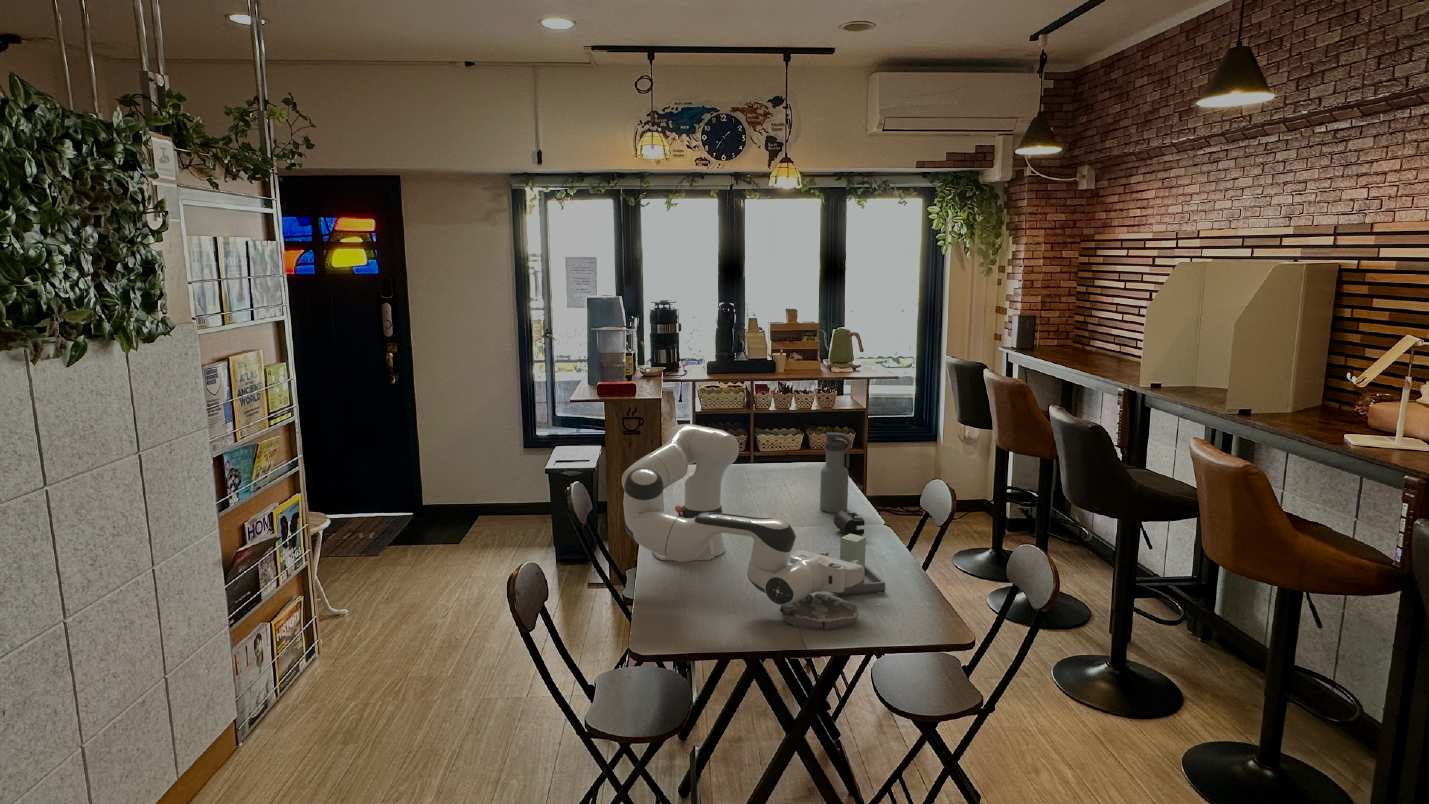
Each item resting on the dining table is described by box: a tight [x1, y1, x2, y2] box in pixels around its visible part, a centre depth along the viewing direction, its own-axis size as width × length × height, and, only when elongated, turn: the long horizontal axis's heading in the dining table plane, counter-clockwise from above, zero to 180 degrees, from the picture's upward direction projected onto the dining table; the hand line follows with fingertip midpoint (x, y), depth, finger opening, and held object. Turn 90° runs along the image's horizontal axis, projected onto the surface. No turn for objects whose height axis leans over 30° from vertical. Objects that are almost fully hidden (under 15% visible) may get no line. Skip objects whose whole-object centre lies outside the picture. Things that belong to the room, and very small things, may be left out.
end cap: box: [833, 511, 866, 537], centre depth 276 cm, size 10×7×7 cm
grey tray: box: [833, 564, 886, 598], centre depth 234 cm, size 14×14×3 cm
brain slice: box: [779, 593, 859, 630], centre depth 213 cm, size 20×17×3 cm
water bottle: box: [819, 431, 852, 514], centre depth 302 cm, size 10×10×28 cm
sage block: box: [839, 533, 867, 584], centre depth 233 cm, size 5×5×13 cm
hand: (841, 558), depth 227 cm, fingers open, 8 cm apart
